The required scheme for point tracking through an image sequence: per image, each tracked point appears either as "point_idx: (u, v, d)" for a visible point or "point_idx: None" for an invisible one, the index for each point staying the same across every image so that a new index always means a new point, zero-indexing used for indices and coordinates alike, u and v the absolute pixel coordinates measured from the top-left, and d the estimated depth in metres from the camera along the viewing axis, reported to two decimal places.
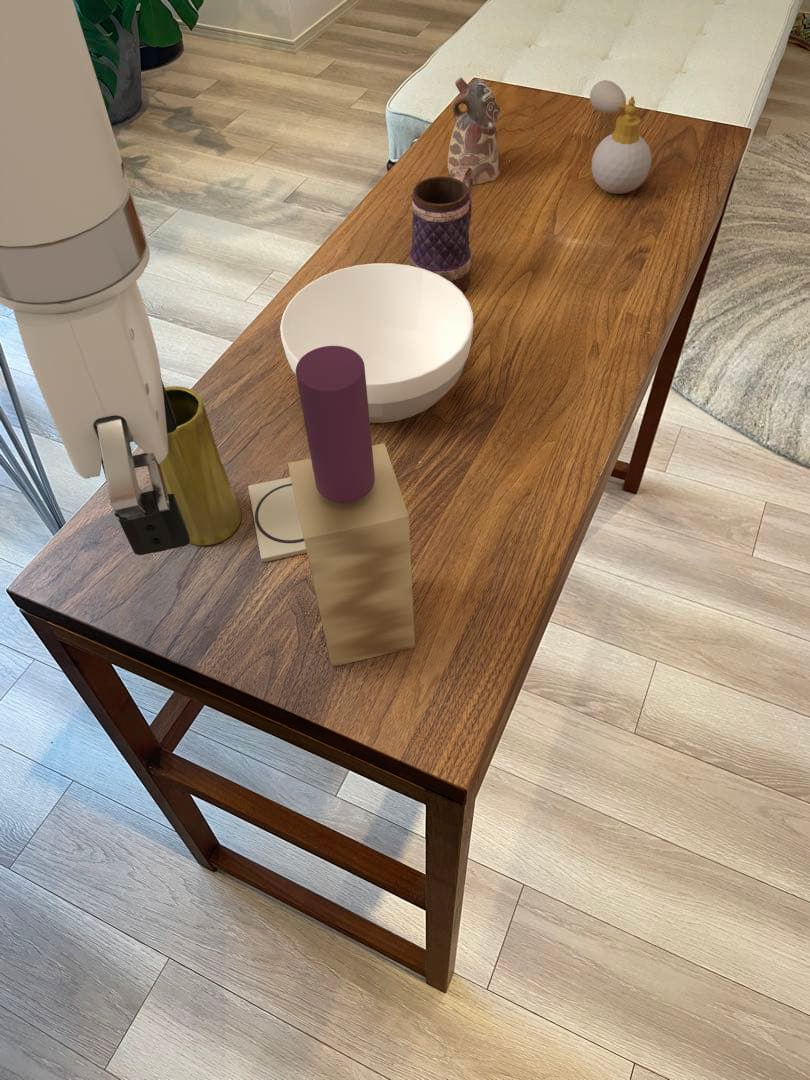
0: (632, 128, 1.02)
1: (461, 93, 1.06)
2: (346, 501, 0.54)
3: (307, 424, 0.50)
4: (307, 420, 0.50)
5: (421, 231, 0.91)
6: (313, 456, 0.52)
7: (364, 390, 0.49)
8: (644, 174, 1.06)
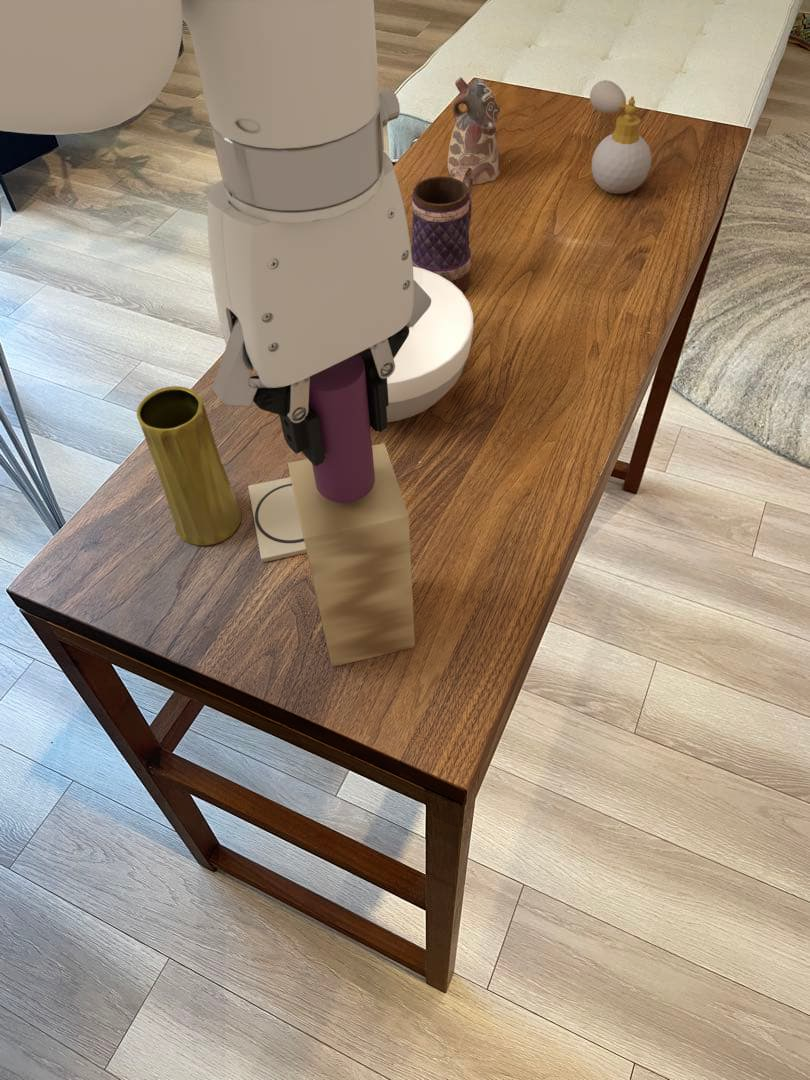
0: (632, 127, 1.02)
1: (461, 93, 1.06)
2: (346, 501, 0.54)
3: None
4: None
5: (421, 231, 0.91)
6: None
7: (364, 390, 0.49)
8: (644, 174, 1.06)
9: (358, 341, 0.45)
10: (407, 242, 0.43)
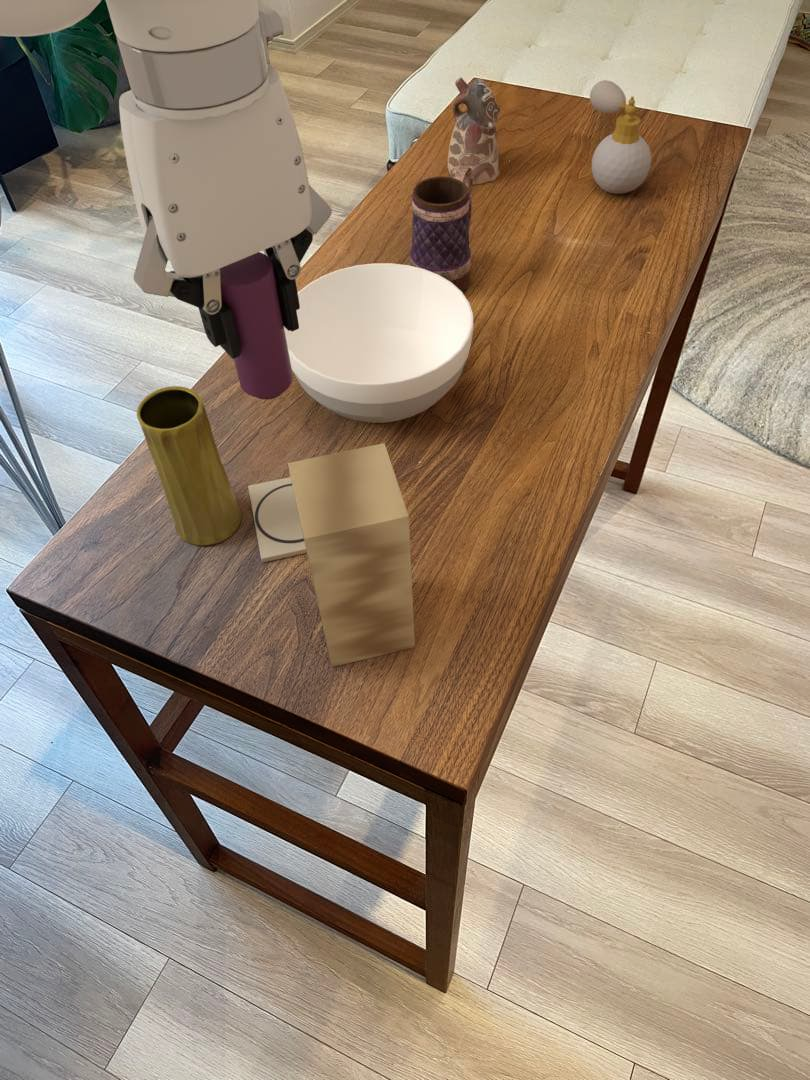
0: (632, 128, 1.02)
1: (461, 93, 1.06)
2: (265, 396, 0.61)
3: None
4: None
5: (421, 231, 0.91)
6: None
7: (273, 288, 0.56)
8: (644, 174, 1.06)
9: (261, 238, 0.52)
10: (298, 149, 0.50)
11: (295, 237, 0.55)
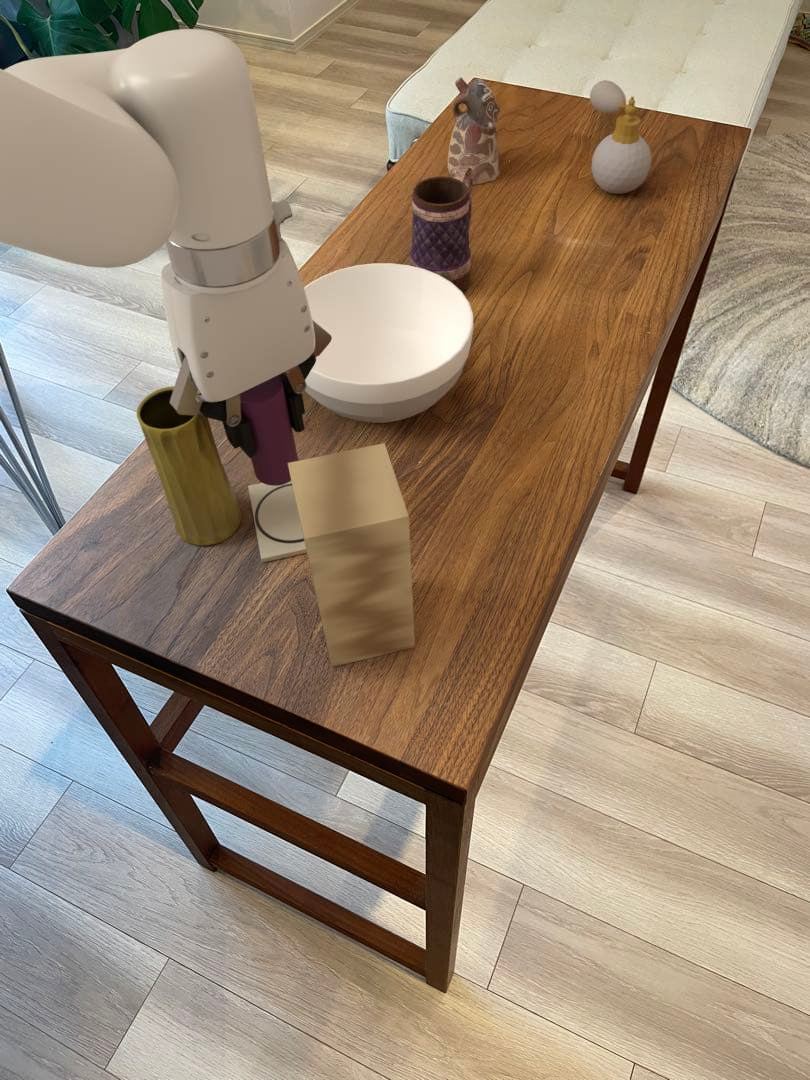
0: (632, 128, 1.02)
1: (461, 93, 1.06)
2: (276, 484, 0.73)
3: None
4: None
5: (421, 231, 0.91)
6: None
7: (283, 402, 0.67)
8: (644, 174, 1.06)
9: (273, 368, 0.63)
10: (304, 300, 0.61)
11: None
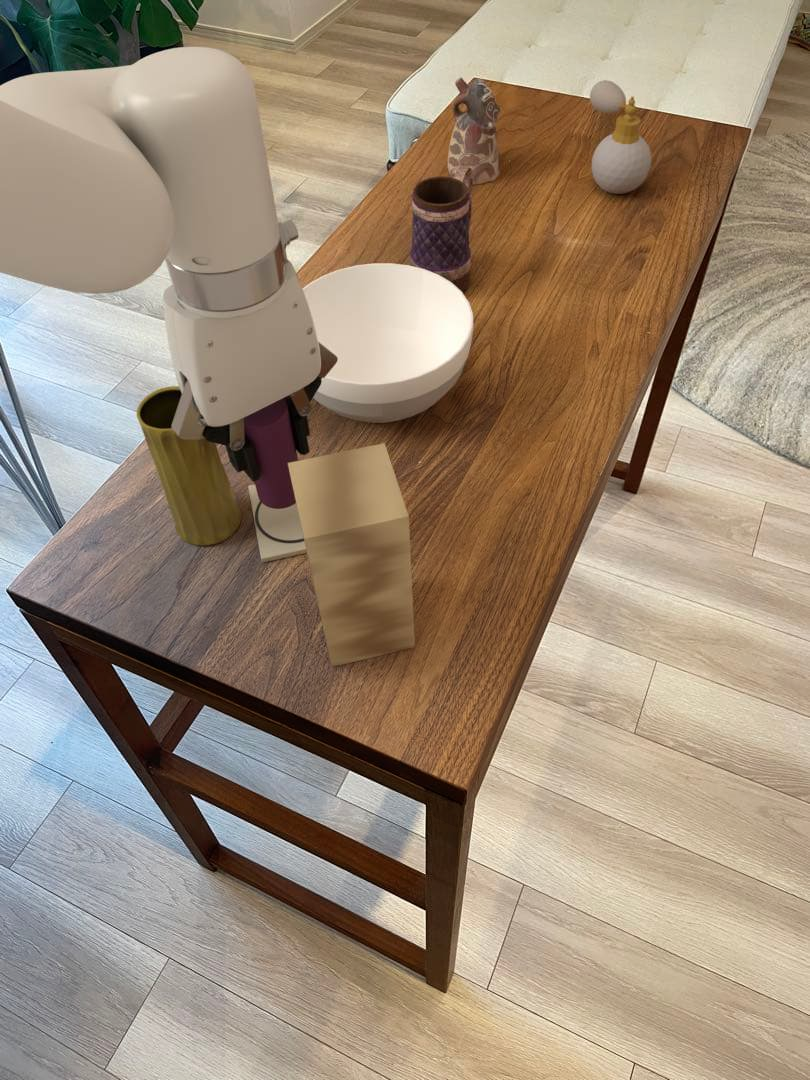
0: (632, 127, 1.02)
1: (461, 93, 1.06)
2: (280, 507, 0.71)
3: None
4: None
5: (421, 231, 0.91)
6: None
7: (288, 425, 0.65)
8: (644, 174, 1.06)
9: (278, 391, 0.61)
10: (310, 322, 0.59)
11: None
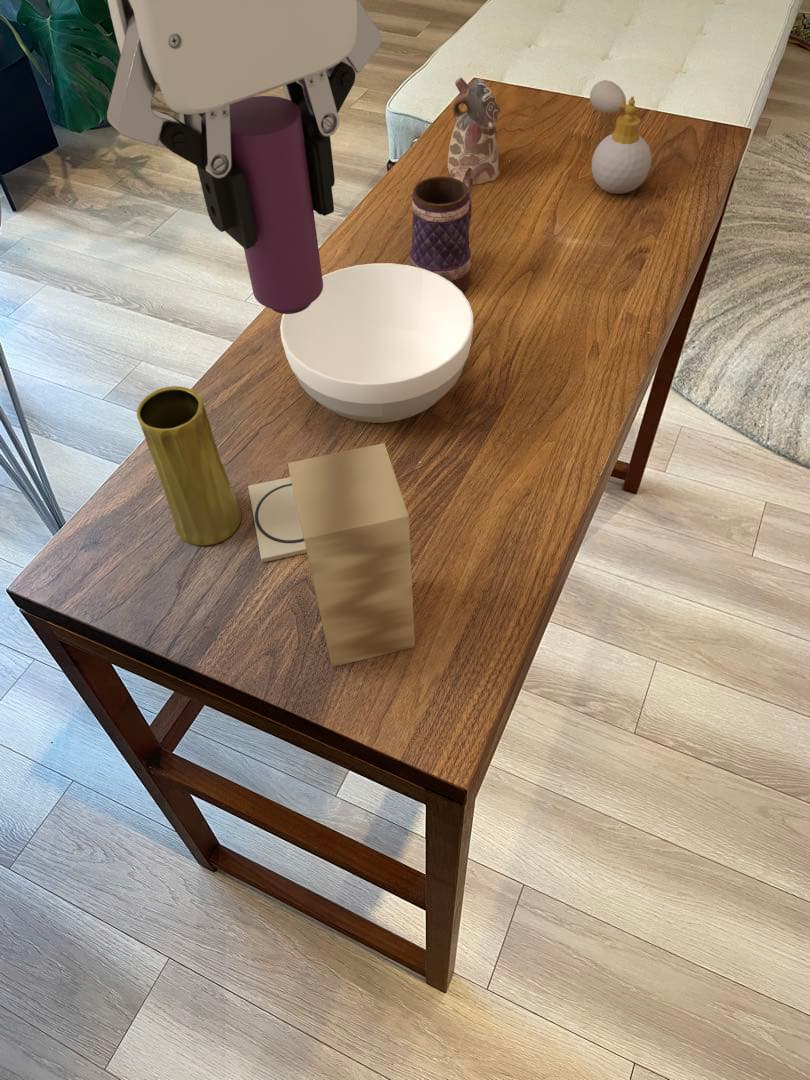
0: (632, 128, 1.02)
1: (461, 93, 1.06)
2: (288, 307, 0.46)
3: None
4: None
5: (421, 231, 0.91)
6: None
7: (301, 146, 0.40)
8: (644, 174, 1.06)
9: (287, 61, 0.37)
10: None
11: (332, 74, 0.40)
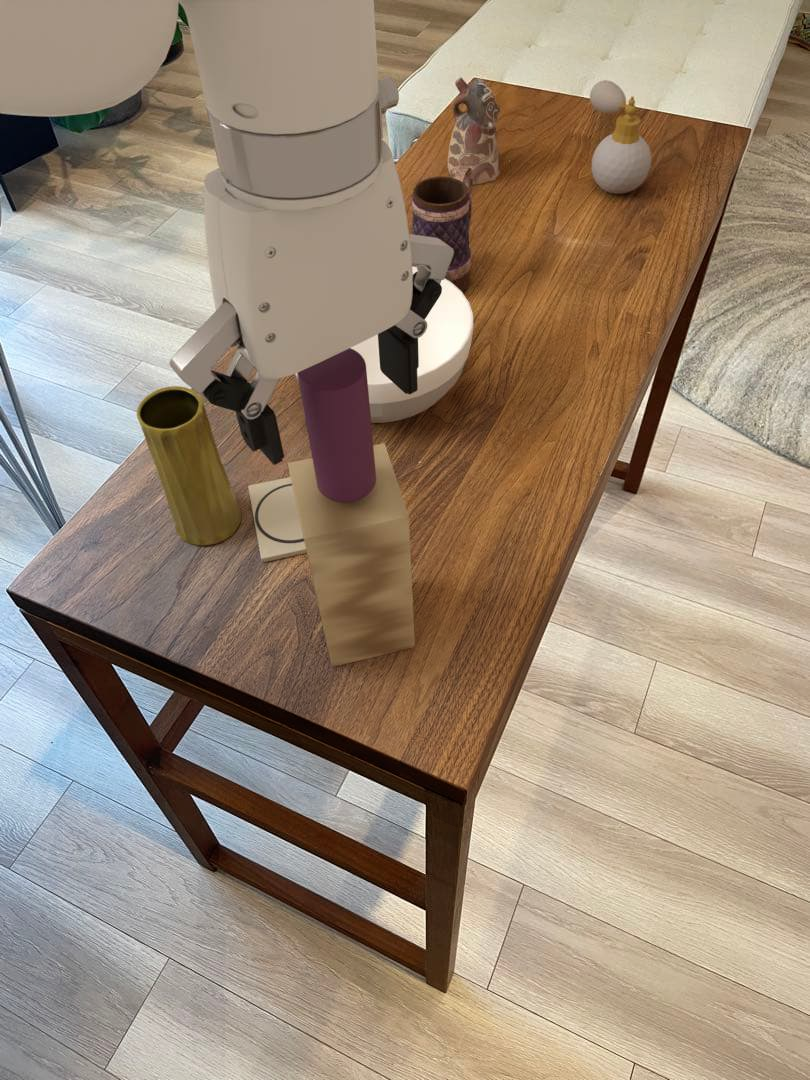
0: (632, 128, 1.02)
1: (461, 93, 1.06)
2: (347, 501, 0.54)
3: (308, 424, 0.50)
4: (308, 420, 0.50)
5: (421, 231, 0.91)
6: (314, 456, 0.52)
7: (365, 390, 0.49)
8: (644, 174, 1.06)
9: (356, 332, 0.45)
10: (406, 232, 0.42)
11: (423, 290, 0.48)
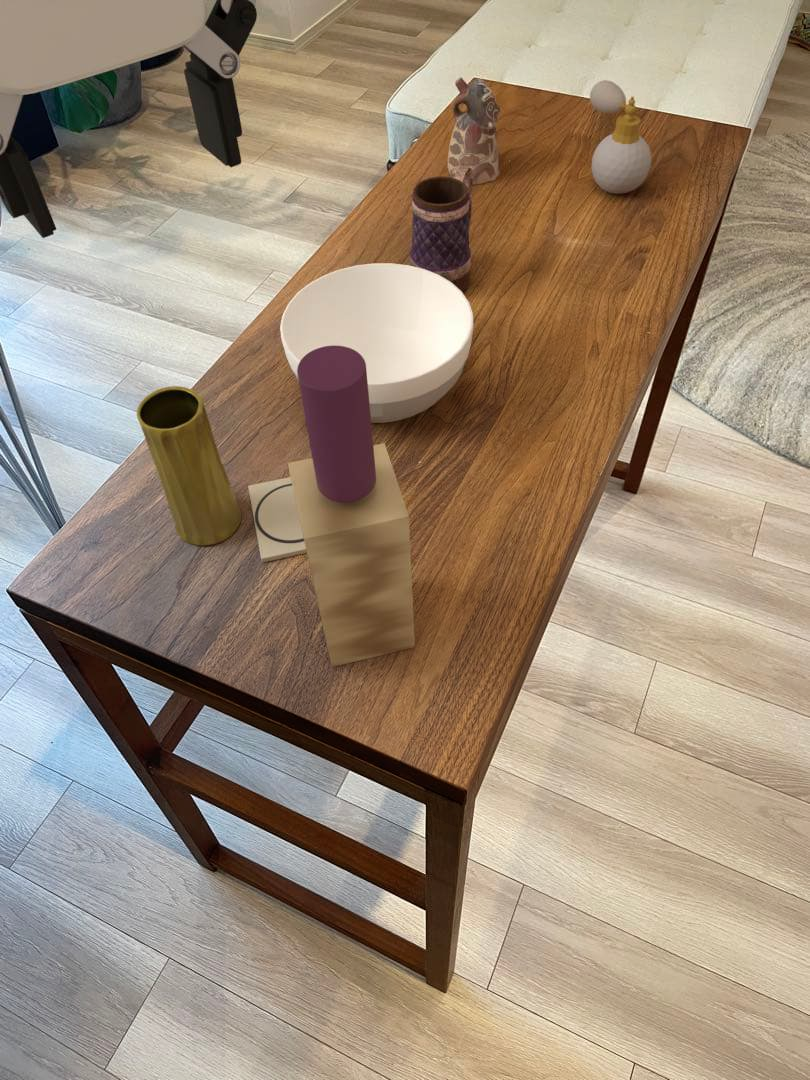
0: (632, 128, 1.02)
1: (461, 93, 1.06)
2: (347, 501, 0.54)
3: (308, 424, 0.50)
4: (308, 420, 0.50)
5: (421, 231, 0.91)
6: (314, 456, 0.52)
7: (365, 390, 0.49)
8: (644, 174, 1.06)
9: (123, 38, 0.34)
10: None
11: (230, 10, 0.37)
